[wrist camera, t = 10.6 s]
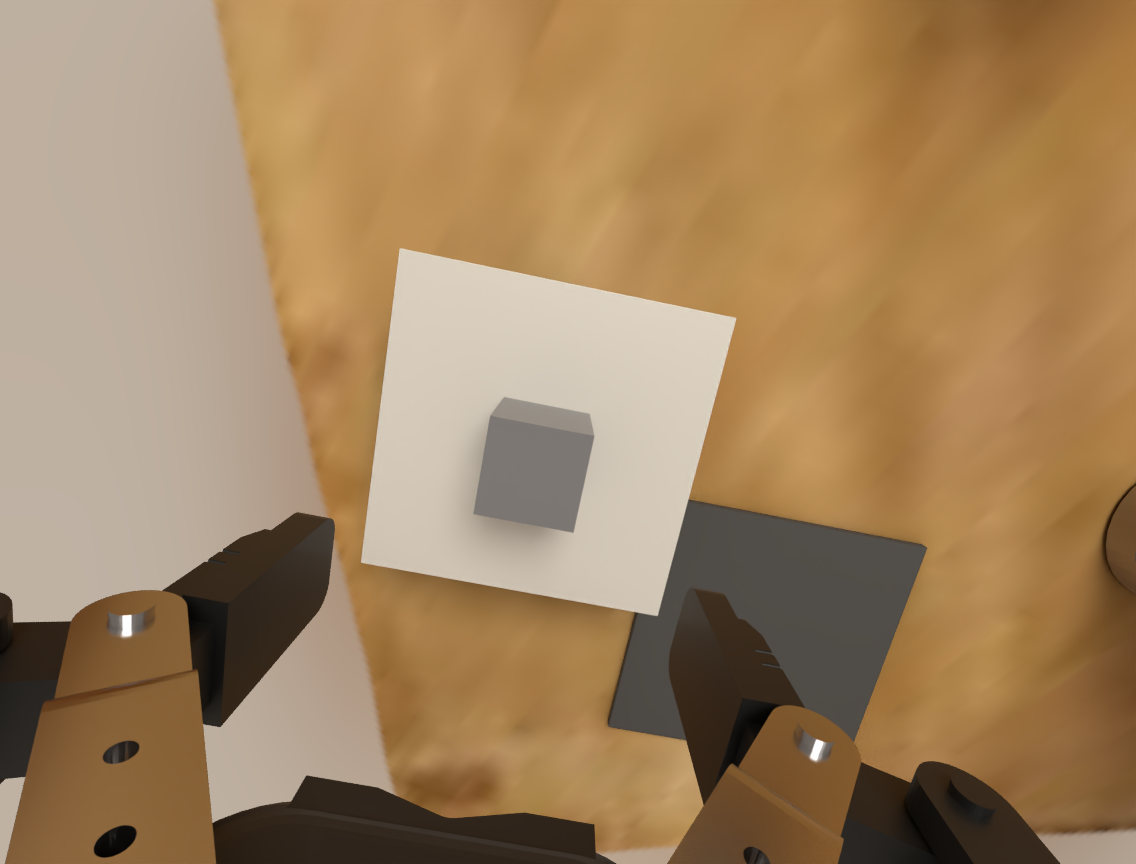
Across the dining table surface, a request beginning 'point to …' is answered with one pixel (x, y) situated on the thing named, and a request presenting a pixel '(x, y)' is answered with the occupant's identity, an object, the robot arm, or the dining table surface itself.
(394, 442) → the lid
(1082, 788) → the dining table surface
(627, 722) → the mat
